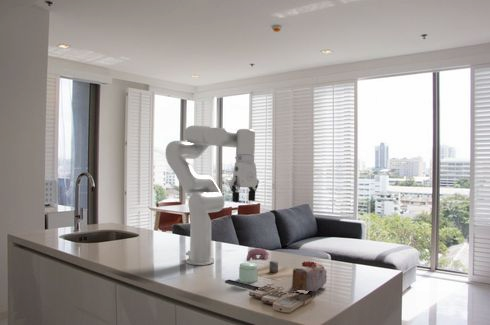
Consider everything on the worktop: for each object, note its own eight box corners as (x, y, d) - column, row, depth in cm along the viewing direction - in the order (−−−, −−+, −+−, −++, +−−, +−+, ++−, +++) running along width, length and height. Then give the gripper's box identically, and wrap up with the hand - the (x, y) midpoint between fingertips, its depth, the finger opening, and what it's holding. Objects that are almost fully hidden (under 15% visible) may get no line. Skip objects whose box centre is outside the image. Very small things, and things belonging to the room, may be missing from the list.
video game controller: (268, 265, 181) (269, 250, 184) (266, 262, 177) (268, 247, 180) (247, 263, 184) (249, 249, 187) (245, 261, 180) (247, 246, 183)
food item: (308, 283, 147) (308, 256, 147) (328, 287, 142) (328, 259, 142) (289, 291, 136) (289, 263, 136) (310, 296, 131) (310, 266, 132)
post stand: (241, 275, 156) (241, 261, 156) (269, 267, 170) (269, 254, 170) (278, 284, 144) (278, 269, 144) (305, 275, 158) (305, 261, 158)
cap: (249, 285, 141) (249, 267, 141) (235, 281, 145) (235, 264, 145) (261, 281, 146) (261, 264, 146) (247, 278, 150) (247, 261, 150)
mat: (225, 282, 146) (225, 280, 146) (242, 277, 154) (242, 275, 154) (254, 290, 137) (254, 288, 137) (271, 284, 144) (271, 282, 144)
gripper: (237, 158, 152) (235, 203, 152) (265, 160, 165) (264, 201, 165) (223, 158, 157) (222, 201, 157) (252, 159, 170) (250, 199, 170)
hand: (243, 201), depth 161 cm, fingers open, 9 cm apart
